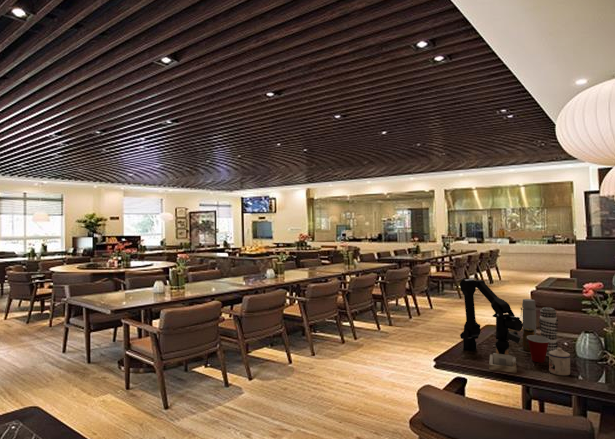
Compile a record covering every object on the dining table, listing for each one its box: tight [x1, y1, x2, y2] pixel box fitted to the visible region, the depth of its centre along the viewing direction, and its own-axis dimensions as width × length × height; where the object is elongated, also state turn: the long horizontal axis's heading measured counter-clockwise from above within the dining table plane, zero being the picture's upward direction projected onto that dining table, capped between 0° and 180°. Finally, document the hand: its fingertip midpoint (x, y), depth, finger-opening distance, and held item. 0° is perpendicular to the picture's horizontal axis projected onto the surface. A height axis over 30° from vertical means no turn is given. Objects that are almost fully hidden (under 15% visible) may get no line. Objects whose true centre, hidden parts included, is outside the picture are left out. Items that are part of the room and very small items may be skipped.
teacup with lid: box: [548, 347, 571, 376], centre depth 205 cm, size 12×9×12 cm
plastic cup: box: [527, 334, 550, 364], centre depth 224 cm, size 11×11×12 cm
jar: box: [495, 347, 510, 355], centre depth 225 cm, size 6×6×6 cm
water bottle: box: [519, 298, 537, 335], centre depth 261 cm, size 9×8×25 cm
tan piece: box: [488, 353, 518, 374], centre depth 217 cm, size 12×18×2 cm
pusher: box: [492, 352, 513, 367], centre depth 217 cm, size 8×3×5 cm, turn 66°
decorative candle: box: [538, 306, 559, 357], centre depth 235 cm, size 9×9×25 cm
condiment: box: [518, 328, 534, 354], centre depth 242 cm, size 7×8×12 cm
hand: (502, 357), depth 225 cm, fingers closed on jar, 6 cm apart
